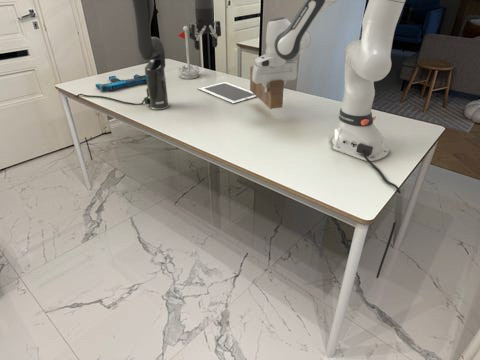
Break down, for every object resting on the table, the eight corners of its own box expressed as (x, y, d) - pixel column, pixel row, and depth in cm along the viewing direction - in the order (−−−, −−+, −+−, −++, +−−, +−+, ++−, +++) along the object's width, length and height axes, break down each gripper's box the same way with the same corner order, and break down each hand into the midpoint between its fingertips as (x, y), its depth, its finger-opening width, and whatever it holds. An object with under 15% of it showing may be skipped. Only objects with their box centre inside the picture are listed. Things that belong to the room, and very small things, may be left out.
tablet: (198, 89, 198) (198, 88, 197) (225, 82, 209) (225, 81, 209) (233, 103, 177) (233, 103, 177) (261, 95, 188) (261, 94, 188)
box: (282, 107, 154) (284, 81, 147) (270, 109, 152) (271, 82, 146) (260, 89, 175) (261, 65, 169) (250, 90, 174) (250, 66, 167)
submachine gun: (140, 69, 224) (158, 75, 207) (141, 74, 225) (159, 81, 209) (88, 79, 205) (103, 86, 188) (89, 85, 207) (105, 93, 190)
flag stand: (196, 72, 226) (193, 23, 210) (202, 77, 216) (198, 27, 200) (177, 74, 223) (172, 25, 206) (181, 80, 212) (177, 28, 196)
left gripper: (213, 4, 144) (215, 44, 153) (184, 7, 137) (187, 49, 146) (223, 6, 139) (224, 47, 148) (193, 8, 132) (196, 52, 141)
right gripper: (294, 55, 150) (292, 86, 157) (250, 59, 144) (250, 91, 152) (300, 58, 145) (298, 90, 152) (256, 63, 139) (255, 95, 147)
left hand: (206, 48), depth 147 cm, fingers open, 8 cm apart
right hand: (274, 91), depth 152 cm, fingers closed on box, 6 cm apart
